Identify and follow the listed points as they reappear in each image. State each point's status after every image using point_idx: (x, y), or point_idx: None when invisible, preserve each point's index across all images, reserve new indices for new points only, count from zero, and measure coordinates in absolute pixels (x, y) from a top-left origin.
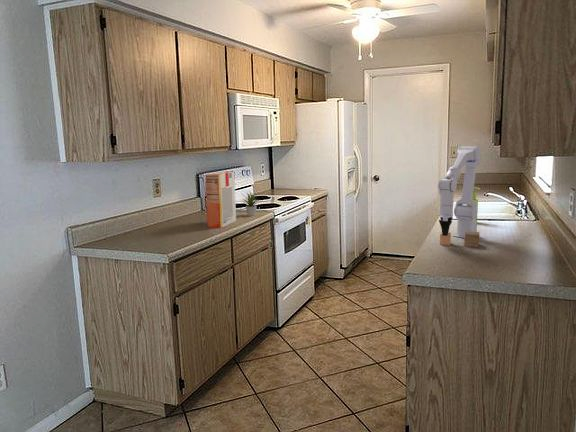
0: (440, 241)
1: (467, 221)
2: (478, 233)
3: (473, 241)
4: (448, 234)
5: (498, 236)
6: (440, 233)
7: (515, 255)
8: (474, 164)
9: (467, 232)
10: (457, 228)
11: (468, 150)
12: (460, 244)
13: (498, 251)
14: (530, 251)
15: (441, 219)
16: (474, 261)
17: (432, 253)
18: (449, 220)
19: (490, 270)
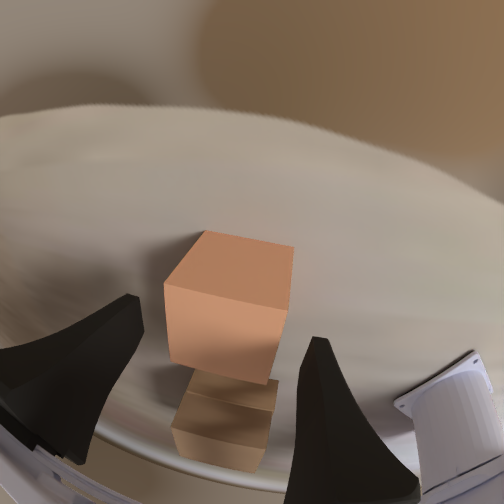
0: (196, 247)
1: (425, 484)
2: (207, 462)
3: None
4: (169, 349)
5: (401, 458)
6: (195, 292)
7: (119, 422)
8: None
9: (223, 447)
10: (474, 406)
11: None
12: None
13: (146, 417)
14: (183, 459)
15: (326, 482)
16: (5, 305)
17: (5, 174)
18: (288, 498)
19: None
